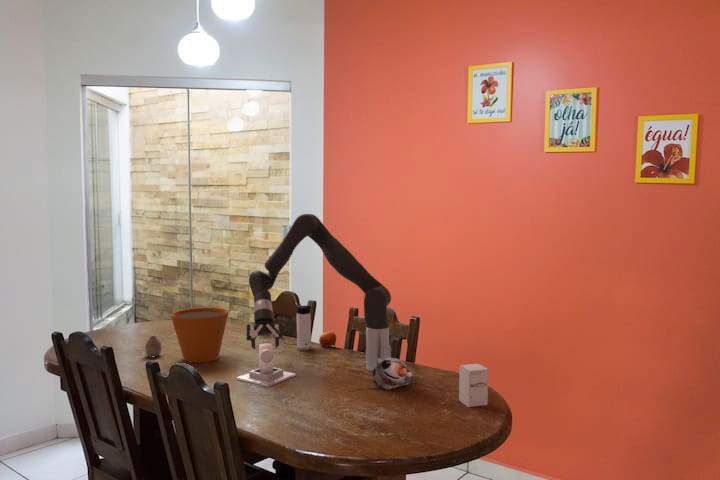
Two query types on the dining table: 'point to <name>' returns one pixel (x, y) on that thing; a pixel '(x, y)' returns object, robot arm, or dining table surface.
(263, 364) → the elbow
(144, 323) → the dining table surface
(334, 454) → the dining table surface
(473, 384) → the supplement box
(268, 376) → the plate
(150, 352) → the reddish brown teardrop
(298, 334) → the travel mug
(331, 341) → the fruit
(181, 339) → the flower pot
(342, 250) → the robot arm
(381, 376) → the lucky cat figurine
